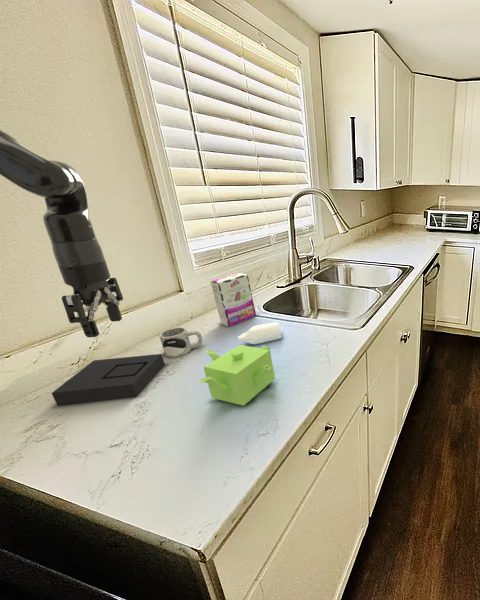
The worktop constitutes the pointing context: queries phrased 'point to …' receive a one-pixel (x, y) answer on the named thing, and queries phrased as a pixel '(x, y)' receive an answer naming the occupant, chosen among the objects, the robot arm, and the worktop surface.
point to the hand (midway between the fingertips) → (105, 328)
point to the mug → (178, 341)
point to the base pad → (108, 381)
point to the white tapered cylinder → (261, 333)
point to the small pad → (125, 371)
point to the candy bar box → (233, 299)
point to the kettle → (239, 373)
